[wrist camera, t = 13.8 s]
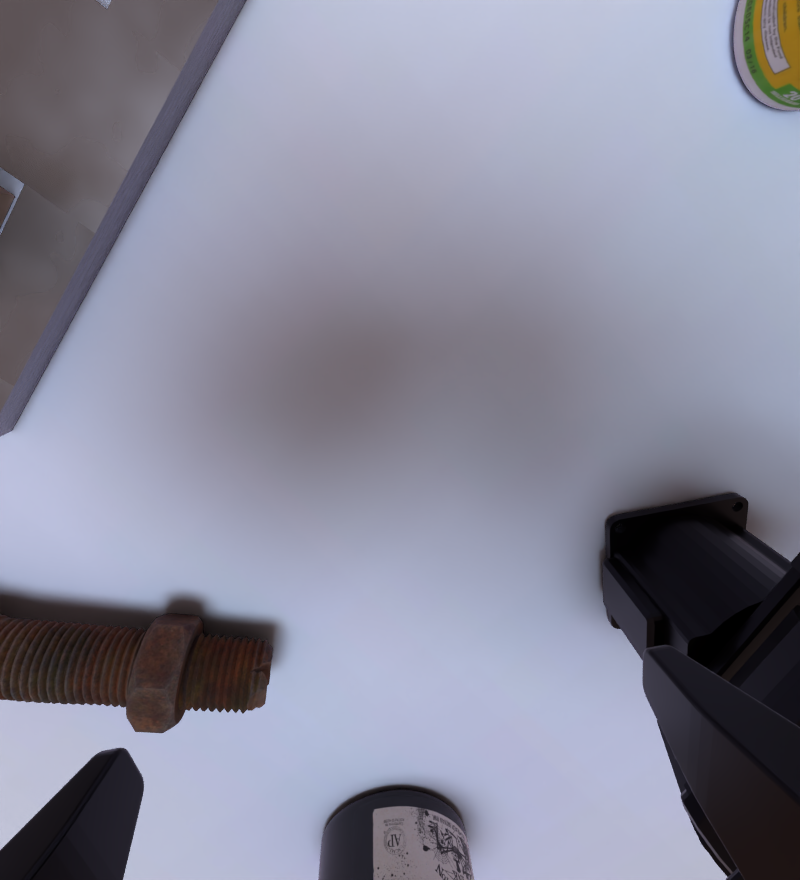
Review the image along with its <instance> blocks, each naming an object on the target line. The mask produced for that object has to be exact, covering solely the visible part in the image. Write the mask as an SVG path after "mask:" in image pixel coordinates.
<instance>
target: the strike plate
mask: <svg viewBox="0 0 800 880" xmlns="http://www.w3.org/2000/svg"><path fill="white" fill-rule="evenodd" d="M245 1H246V0H112V1H111V3H110V5H109V7H108V9H105V8H104V7H103V6H102V5H101V4H99V3H98V2H97V1H96V0H0V167H1V168H2V169H4V170H5V171H7V172H8V173H10V174H11V175H12V176H14V177H15V178H17V179H18V180H20V181H21V182H22V183H24V184H25V185H24V187H23V189H22V191H21V193H20V195H19V197H18V199H17V202H16V204H15V206H14V208H13V210H12V212H11V214H10V216H9V218H8V221H7V223H6V225H5V227H4V229H3V231H2V233H1V235H0V436H2V435H4V434H6V433H8V432H11V431H12V429H13V427H14V426H15V424H16V422H17V420H18V418H19V416H20V415H21V413H22V411H23V409H24V407H25V405H26V403H27V402H28V400H29V398H30V396H31V394H32V392H33V391H34V389H35V387H36V385H37V383H38V381H39V380H40V378H41V376H42V374H43V372H44V370H45V369H46V367H47V365H48V363H49V361H50V359H51V358H52V356H53V354H54V352H55V350H56V348H57V347H58V345H59V343H60V341H61V339H62V337H63V336H64V334H65V332H66V330H67V328H68V326H69V324H70V323H71V321H72V319H73V317H74V315H75V313H76V312H77V310H78V308H79V306H80V304H81V302H82V301H83V299H84V297H85V295H86V293H87V291H88V290H89V288H90V286H91V284H92V282H93V280H94V279H95V277H96V275H97V273H98V271H99V269H100V268H101V266H102V264H103V262H104V260H105V258H106V256H107V255H108V253H109V251H110V249H111V247H112V245H113V244H114V242H115V240H116V238H117V236H118V234H119V233H120V231H121V229H122V227H123V225H124V223H125V222H126V220H127V218H128V216H129V214H130V212H131V211H132V209H133V207H134V205H135V203H136V201H137V200H138V198H139V196H140V194H141V192H142V190H143V189H144V187H145V185H146V183H147V181H148V179H149V177H150V176H151V174H152V172H153V170H154V168H155V166H156V165H157V163H158V161H159V159H160V157H161V155H162V154H163V152H164V150H165V148H166V146H167V144H168V143H169V141H170V139H171V137H172V135H173V133H174V132H175V130H176V128H177V126H178V124H179V122H180V121H181V119H182V117H183V115H184V113H185V111H186V110H187V108H188V106H189V104H190V102H191V100H192V98H193V97H194V95H195V93H196V91H197V89H198V87H199V86H200V84H201V82H202V80H203V78H204V76H205V75H206V73H207V71H208V69H209V67H210V65H211V64H212V62H213V60H214V58H215V56H216V54H217V53H218V51H219V49H220V47H221V45H222V43H223V42H224V40H225V38H226V36H227V34H228V32H229V31H230V29H231V27H232V25H233V23H234V21H235V19H236V18H237V16H238V14H239V12H240V10H241V8H242V7H243V5H244V3H245Z"/></svg>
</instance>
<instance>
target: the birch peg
mask: <svg viewBox="0 0 800 880" xmlns="http://www.w3.org/2000/svg"><path fill="white" fill-rule="evenodd" d="M14 197H15V196H14V195H12V194H11V193H9V192H8V191H7V190H5V189H4V188H2V187H1V186H0V227H1V225H2V223H3V221H4V218H5V216H6V214H7V212H8V210H9V208H10V206H11V203H12V201H13V199H14Z"/></svg>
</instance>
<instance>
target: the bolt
mask: <svg viewBox="0 0 800 880" xmlns="http://www.w3.org/2000/svg"><path fill="white" fill-rule="evenodd" d="M272 653H273V648H272V647H271V646H270V645H269V643H268V641H267V639H266V640H265V641H264V642H262V641H261V639H260V638H259V639H258V640H257V641H255V639H254V637H253V638H252V639H250V640H248V638H247V636H246V637H245V638H244V639H243V640H241V638H240V636H238V637H237V638H236V639H235V640H234V638H233V636H232V635H231V636H230V637H229V638H228V639H227V638H226V636H225V635H223V636H222V637H221V638H219V636H218V634H216V635H215V636H214V637H213V638H212V636H211V634H209V635H207V636H206V637H205V636H204V634H203V623H202V621H201V620H200V619H199V617H198V616H195V615H184V614H173V613H169V614H165V615H162V616H160V617H157V618H156V619H155V620H154V621H153V623H152V624H151V625H150V627H149V628H148V629H147V630H146V631H144V629H143V628H140V629H139V630H137V629H136V628H135V627H133V628H131V629H130V630H129V628H128V627H124V628H121V627H120V626H117V627H113V626H112V625H111V626H108V627H106V626H104V625H100V626H98V625H96V624H92V625H89V624H83V625H82V624H81V623H76V624H74V623H72V622H69V623H65V622H56V621H51V622H50V621H47V620H44V621H41V620H33V619H23V618H19V619H17V618H10V617H8V616H6V615H0V700H7V699H8V700H16V701H25V702H32V701H34V702H37V703H41V702H44V703H50V702H52V703H53V704H55V703H61V704H67V703H70V704H77V703H78V704H81V705H84V704H85V703H87V704H90V705H93V704H94V703H95V704H97V705H101V704H104V705H106V706H109V705H111V704H112V706H114V707H116V706H118V705H120V706H121V707H126V715H127V719H128V720H129V722H130V723H131V725H132V727H133V729H134V730H135V732H150V733H164V732H165V731H167V730H169V729H170V728H172V727H174V726H175V725H176V724H178V723H179V721H180V720H181V719H182V717H183V715H184V712H185V710H188V711H189V710H190V709H191V708H192V707H193V709H194V710H195V711H197V710H198V709H199V708H201V710H202V711H205V710H206V709H207V708H209V710H210V711H212V712H213V711H214V710H215V709H216V708H217V710H218V711H219V712H221V711H222V710H223V709H224V708H225V710H226V711H227V712H229V711H230V710H231V709H233V711H234V712H235V713H236V712H237V711H238V710H239V709H240V710H241V712H242V713H244V712H245V711H246V710H247V709H248V710H253V709H254V708H256V707H258V708H260V707H261V706H263V705H264V704H265V699H266V691H267V685H268V684H269V679H270V669H271V660H272Z"/></svg>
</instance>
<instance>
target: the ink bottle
mask: <svg viewBox="0 0 800 880" xmlns="http://www.w3.org/2000/svg"><path fill="white" fill-rule="evenodd" d="M318 880H474V876H473V871H472V865H471V859H470V852H469V845H468V841H467V838H466V833H465V828H464V825H463V823H462V821H461V819H460V817H459V816H458V814H457V813H456V812H455V811H454V810H453V809H452V808H451V807H450V806H449V805H447V804H446V803H445V802H443V801H441V800H440V799H438V798H436V797H434V796H431V795H429V794H426V793H423V792H418V791H413V790H389V791H384V792H379V793H375V794H372V795H369V796H366V797H364V798H361V799H359V800H357V801H355V802H353V803H351V804H350V805H348V806H346V807H345V808H344V809H342V810H341V811H340V812H339V813H337V814H336V815H335V816H334V817H333V818H332V819H331V821H330V822H329V823H328V825H327V827H326V829H325V831H324V834H323V837H322V843H321V855H320V867H319V879H318Z"/></svg>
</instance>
